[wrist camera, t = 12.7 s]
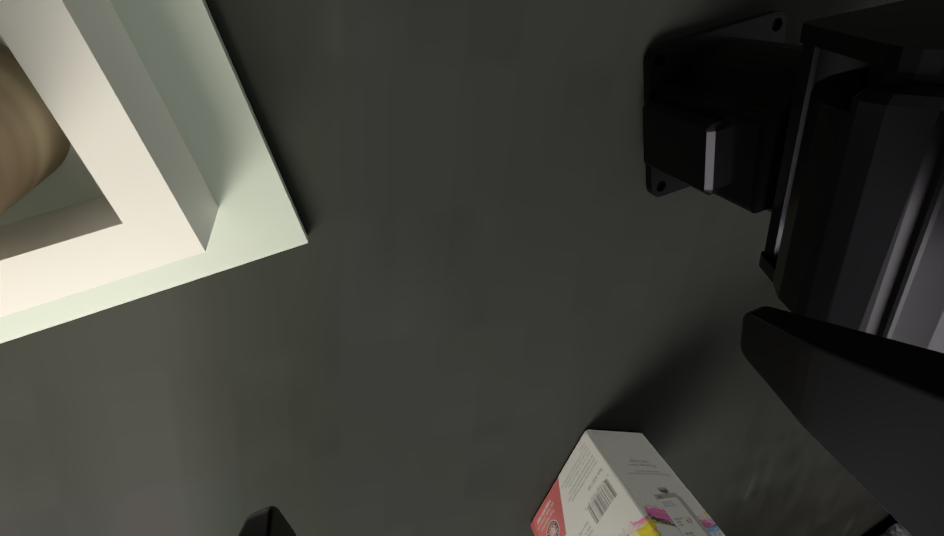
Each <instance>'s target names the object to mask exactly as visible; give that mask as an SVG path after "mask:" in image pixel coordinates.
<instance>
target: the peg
mask: <svg viewBox="0 0 944 536" xmlns="http://www.w3.org/2000/svg"><path fill="white" fill-rule="evenodd" d="M70 146H71V143H70V141H69V140H68V138H67V137H66V135H65V133H64V132H63V130H62V129H61V127H60V126H59V124H58V123H57V121H56V120H55V118H54V117H53V115H52V113H51V112H50V110H49V109H48V107H47V106H46V104H45V103H44V101H43V100H42V98H41V96H40V95H39V93H38V92H37V90H36V89H35V87H34V86H33V84H32V83H31V81H30V80H29V78H28V76H27V75H26V73H25V72H24V70H23V69H22V67H21V66H20V64H19V63H18V61H17V60H16V58H15V56H14V55H13V53H12V52H11V50H10V49H9V47H7V46H5V45H3V44H1V43H0V215H1V214H2V213H3V212H5V211H6V210H7V209H8V208H10V207H11V206H12V205H13V204H15V203H16V202H17V201H18V200H20V199H21V198H22V197H23V196H25V195H26V194H27V193H28V192H29V191H31V190H32V189H33V188H34V187H36V186H37V185H38V184H39V183H41V182H42V181H43V180H44V179H46V178H47V177H48V176H49V175H51V174H52V173H53V172H54V171H55V170H56V169H57V168H58V167H59V166H60V165H61V164H62V163H63V161H64V160H65V158H66V156H67V154H68V152H69V150H70Z"/></svg>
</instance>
